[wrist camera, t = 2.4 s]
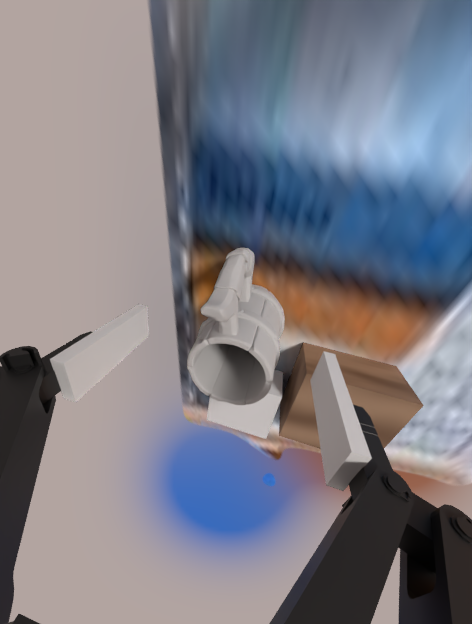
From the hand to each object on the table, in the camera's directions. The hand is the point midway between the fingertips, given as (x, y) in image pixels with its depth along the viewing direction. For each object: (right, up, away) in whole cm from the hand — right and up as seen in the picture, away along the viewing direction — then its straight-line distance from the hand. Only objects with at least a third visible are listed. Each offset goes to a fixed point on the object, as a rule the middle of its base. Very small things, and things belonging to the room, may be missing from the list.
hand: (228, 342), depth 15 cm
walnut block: (+12, -7, +10) cm, 17 cm away
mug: (+2, +4, +7) cm, 9 cm away
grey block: (+2, -8, +13) cm, 15 cm away
